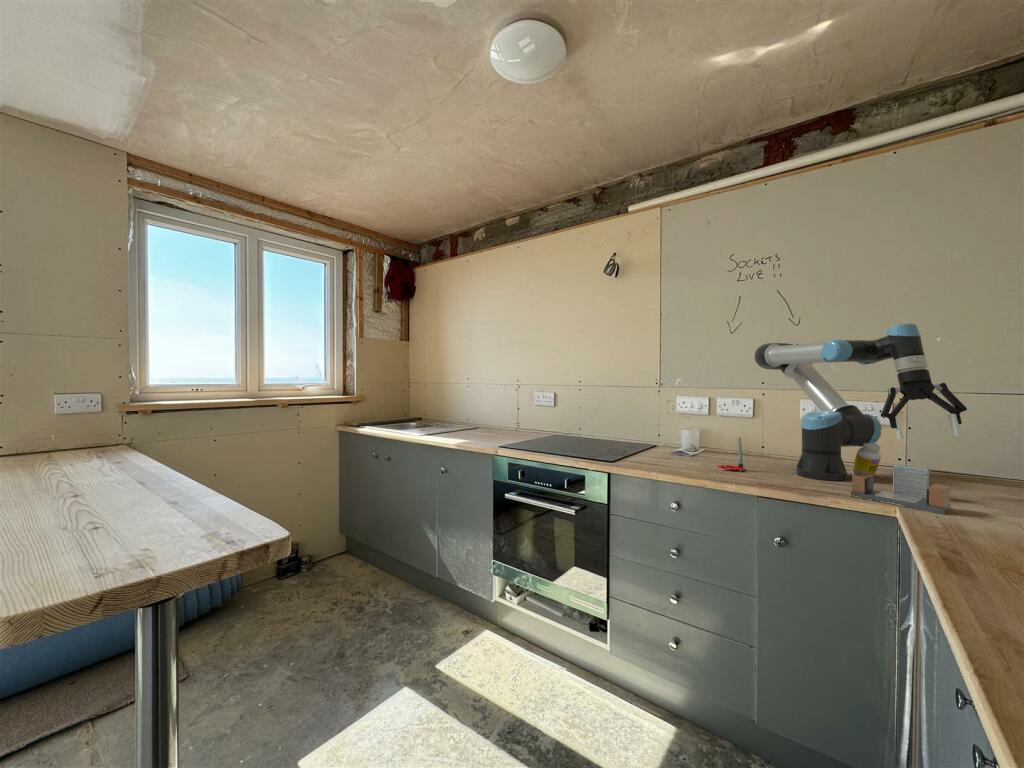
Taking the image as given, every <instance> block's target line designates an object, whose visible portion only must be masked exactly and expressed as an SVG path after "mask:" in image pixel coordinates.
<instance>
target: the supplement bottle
mask: <svg viewBox="0 0 1024 768" xmlns="http://www.w3.org/2000/svg"><path fill="white" fill-rule="evenodd" d="M880 449H881V445H879V444H877V443H864V444H863V447H860V448H858V450H857V452H856V455H855V459H854V462H853V464H852V467H851V474H852V475H854V474H856V473H859V472H861V473H867V474H872V477H875V475H876V472H877V470H878V467H879V464H880V461H881V458H882V454H881V453H880V452H879V451H880Z"/></svg>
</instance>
